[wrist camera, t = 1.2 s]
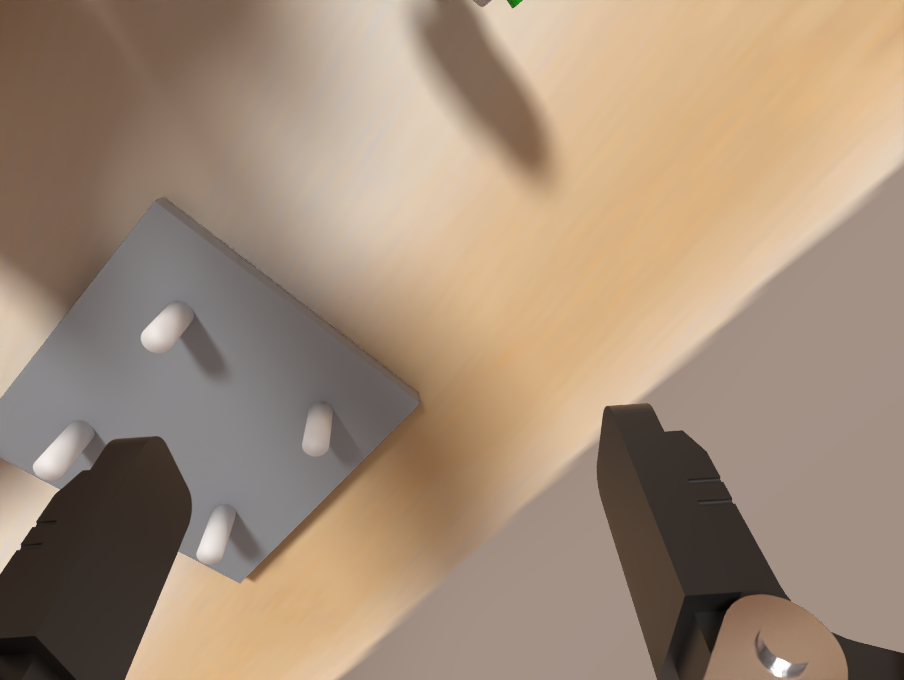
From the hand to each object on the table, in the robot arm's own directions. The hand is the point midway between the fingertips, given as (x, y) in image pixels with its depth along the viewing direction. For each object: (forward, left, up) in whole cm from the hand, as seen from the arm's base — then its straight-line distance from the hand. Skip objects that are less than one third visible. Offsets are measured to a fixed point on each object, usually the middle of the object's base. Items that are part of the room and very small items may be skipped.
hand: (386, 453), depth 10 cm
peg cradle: (+1, -18, -26) cm, 32 cm away
